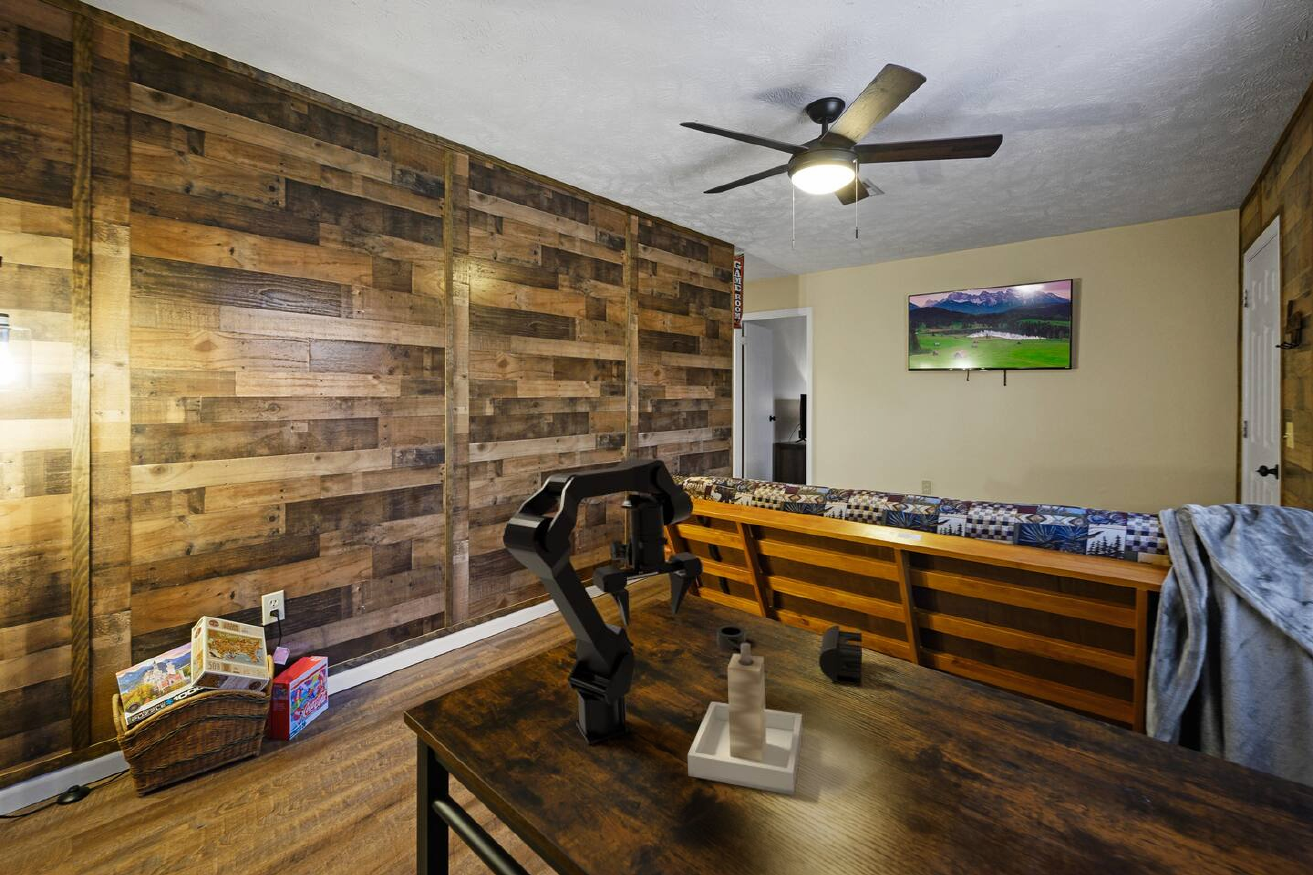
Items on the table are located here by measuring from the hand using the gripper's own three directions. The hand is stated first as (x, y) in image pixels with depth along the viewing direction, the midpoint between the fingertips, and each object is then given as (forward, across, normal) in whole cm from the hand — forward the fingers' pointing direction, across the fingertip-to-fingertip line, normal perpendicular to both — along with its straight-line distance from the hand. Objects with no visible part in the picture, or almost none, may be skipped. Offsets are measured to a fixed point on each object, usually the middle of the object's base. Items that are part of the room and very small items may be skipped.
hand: (650, 619), depth 99 cm
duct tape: (+14, -22, -9) cm, 28 cm away
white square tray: (+13, -4, +22) cm, 26 cm away
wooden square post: (+12, -4, +22) cm, 26 cm away
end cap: (+13, -33, +11) cm, 37 cm away
